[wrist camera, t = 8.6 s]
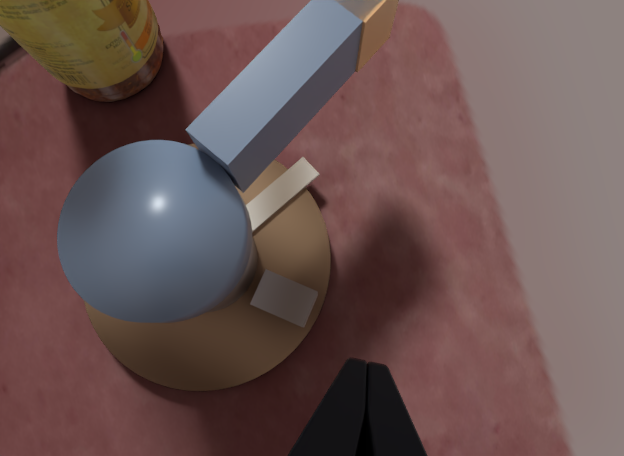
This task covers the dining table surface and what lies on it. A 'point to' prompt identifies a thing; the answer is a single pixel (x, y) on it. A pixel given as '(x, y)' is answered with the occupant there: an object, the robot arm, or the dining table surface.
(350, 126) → the dining table surface
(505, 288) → the dining table surface
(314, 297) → the tan disc with post
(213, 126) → the orange-banded blue bar
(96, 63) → the sauce bottle
